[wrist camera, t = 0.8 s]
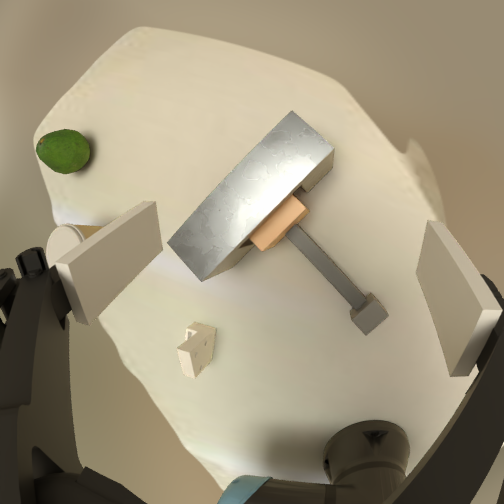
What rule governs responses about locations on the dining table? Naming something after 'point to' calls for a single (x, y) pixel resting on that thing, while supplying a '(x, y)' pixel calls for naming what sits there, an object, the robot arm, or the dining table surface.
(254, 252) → the dining table surface
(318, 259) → the plug
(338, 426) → the dining table surface
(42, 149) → the avocado
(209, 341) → the white angled block
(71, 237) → the coffee cup
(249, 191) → the housing
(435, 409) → the dining table surface
